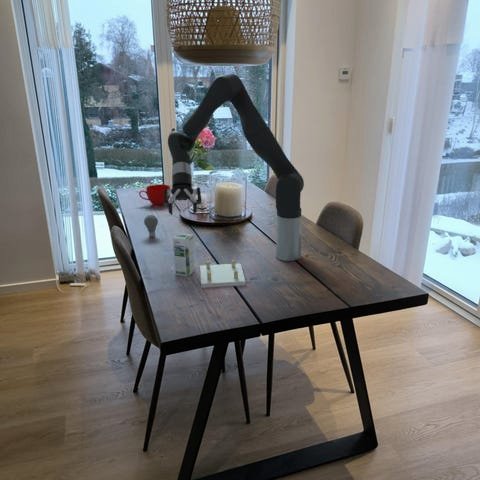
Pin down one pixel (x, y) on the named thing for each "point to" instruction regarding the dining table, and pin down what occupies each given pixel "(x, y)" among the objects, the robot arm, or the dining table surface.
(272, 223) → the dining table surface
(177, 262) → the syrup box
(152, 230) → the light bulb
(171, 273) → the dining table surface
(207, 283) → the pin plate
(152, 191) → the ceramic cup
